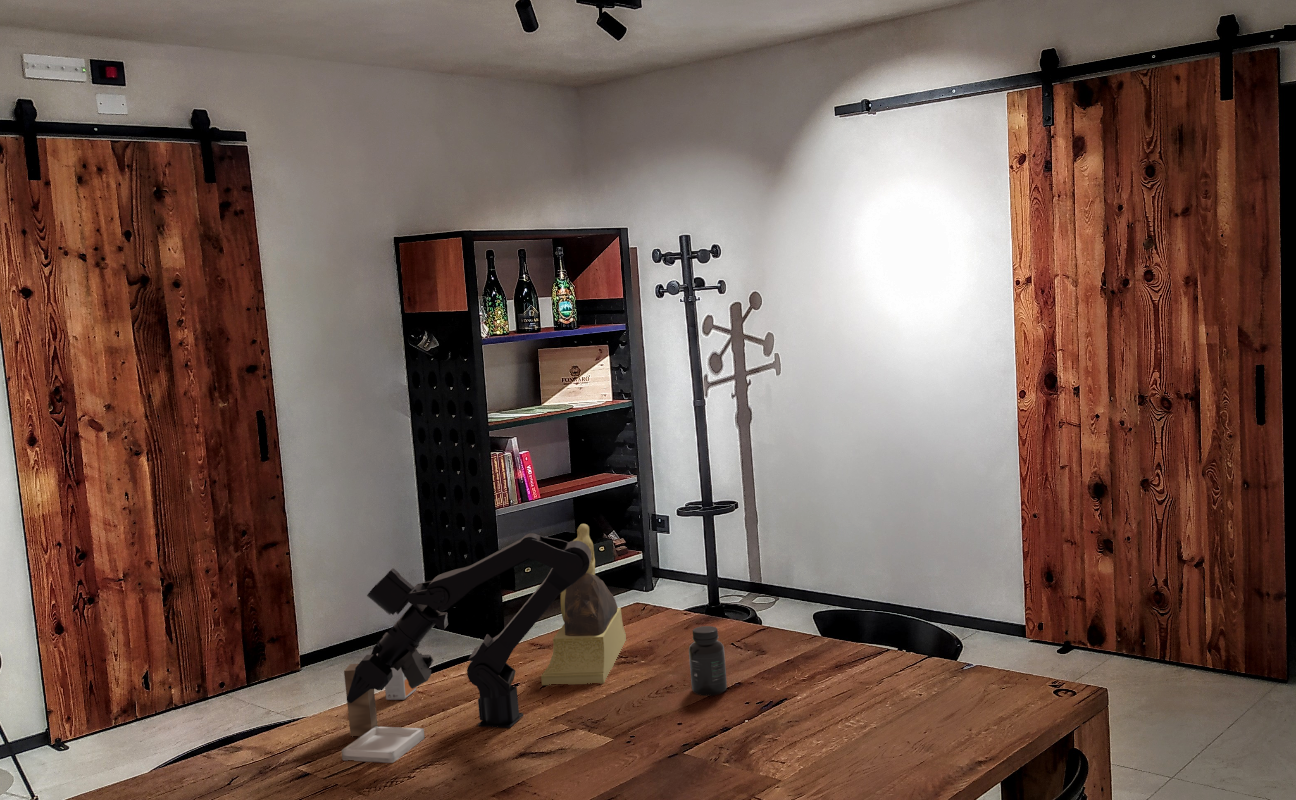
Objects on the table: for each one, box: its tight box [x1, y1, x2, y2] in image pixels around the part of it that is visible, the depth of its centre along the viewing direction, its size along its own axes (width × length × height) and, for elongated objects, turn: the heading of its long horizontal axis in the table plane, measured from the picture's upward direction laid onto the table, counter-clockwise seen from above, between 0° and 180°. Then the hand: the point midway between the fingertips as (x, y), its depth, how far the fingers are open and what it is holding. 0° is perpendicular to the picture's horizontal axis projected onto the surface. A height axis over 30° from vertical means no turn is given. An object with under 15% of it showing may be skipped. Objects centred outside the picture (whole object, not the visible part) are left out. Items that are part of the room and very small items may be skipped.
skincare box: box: [384, 668, 417, 701], centre depth 222 cm, size 6×4×12 cm
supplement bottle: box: [688, 625, 728, 697], centre depth 211 cm, size 7×7×12 cm
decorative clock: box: [540, 523, 627, 686], centre depth 234 cm, size 28×13×30 cm, turn 172°
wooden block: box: [343, 663, 379, 738], centre depth 203 cm, size 4×4×12 cm
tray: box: [341, 725, 425, 764], centre depth 194 cm, size 10×11×2 cm
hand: (355, 692), depth 203 cm, fingers open, 9 cm apart
